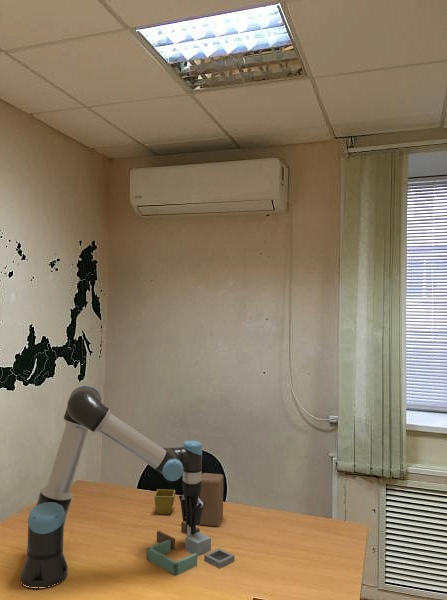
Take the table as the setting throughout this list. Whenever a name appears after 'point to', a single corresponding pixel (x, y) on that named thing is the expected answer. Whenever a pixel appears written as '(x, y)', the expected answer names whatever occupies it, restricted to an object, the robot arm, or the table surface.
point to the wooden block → (211, 499)
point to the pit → (219, 558)
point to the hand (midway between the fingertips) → (190, 541)
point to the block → (198, 543)
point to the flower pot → (164, 501)
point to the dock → (166, 563)
